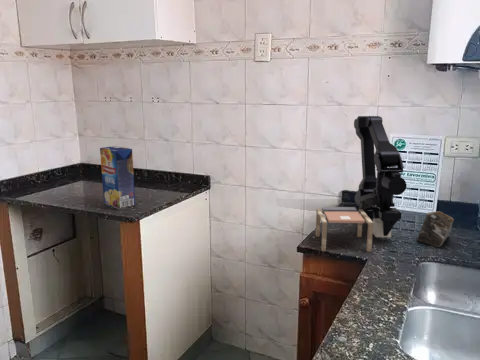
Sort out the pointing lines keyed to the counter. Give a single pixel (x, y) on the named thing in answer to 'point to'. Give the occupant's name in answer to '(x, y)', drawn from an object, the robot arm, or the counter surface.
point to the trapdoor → (342, 215)
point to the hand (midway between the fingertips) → (381, 231)
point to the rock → (435, 228)
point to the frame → (359, 230)
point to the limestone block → (379, 228)
